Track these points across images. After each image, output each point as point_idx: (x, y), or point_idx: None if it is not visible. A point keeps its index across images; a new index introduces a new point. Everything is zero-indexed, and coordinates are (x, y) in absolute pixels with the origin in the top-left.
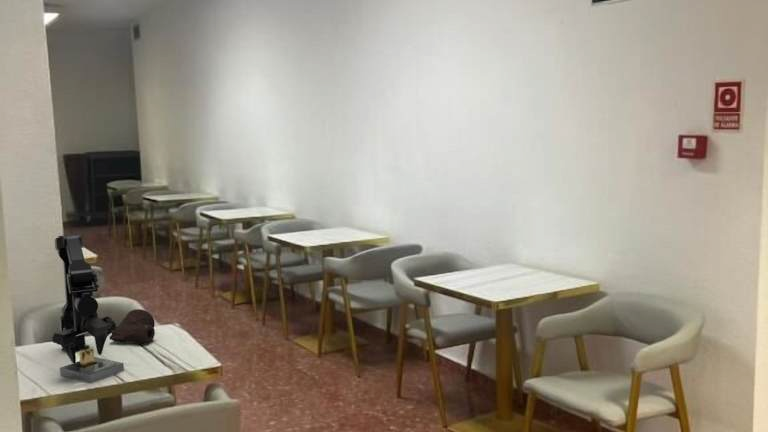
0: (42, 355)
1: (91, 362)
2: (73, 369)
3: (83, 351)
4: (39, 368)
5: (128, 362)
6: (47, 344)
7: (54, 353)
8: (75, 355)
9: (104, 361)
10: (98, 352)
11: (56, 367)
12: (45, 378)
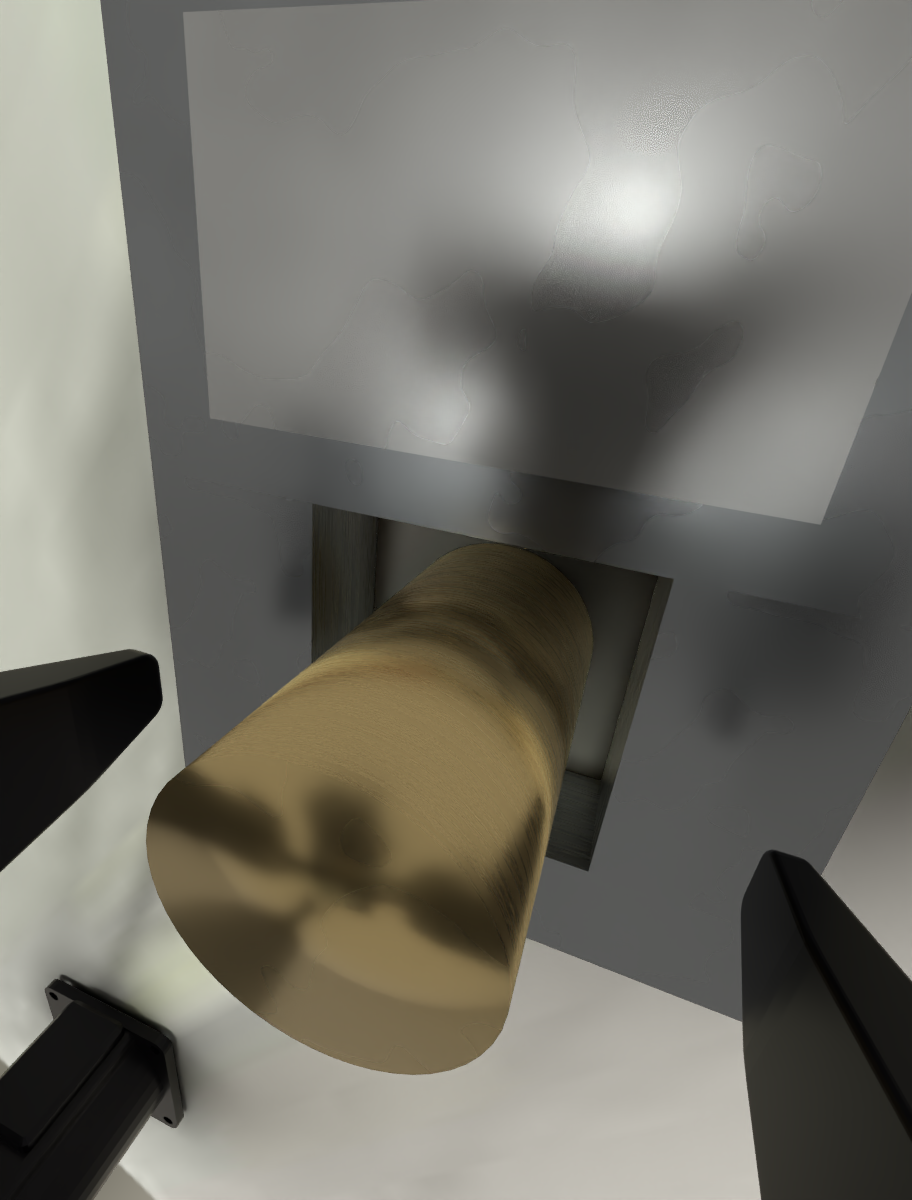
0: (313, 1188)
1: (454, 610)
2: (793, 778)
3: (428, 964)
4: (561, 1154)
5: (19, 385)
6: (173, 1196)
7: (248, 1133)
8: (886, 1057)
9: (282, 401)
10: (127, 717)
11: None
12: None
